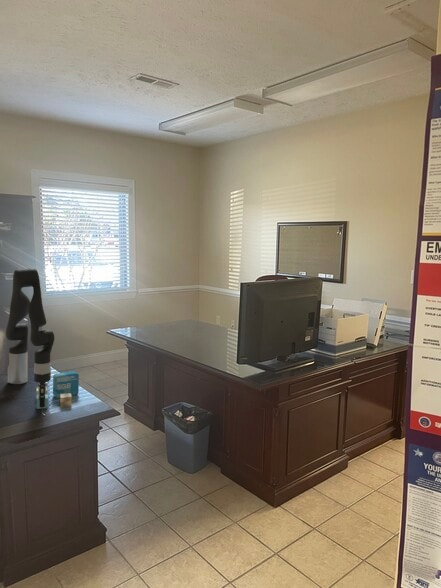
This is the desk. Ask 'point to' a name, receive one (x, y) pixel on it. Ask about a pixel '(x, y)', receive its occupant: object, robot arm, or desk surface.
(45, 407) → the teal block
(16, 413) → the desk surface
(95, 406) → the desk surface
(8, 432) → the desk surface
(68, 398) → the maple block
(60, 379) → the data package
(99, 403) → the desk surface
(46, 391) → the sage block
